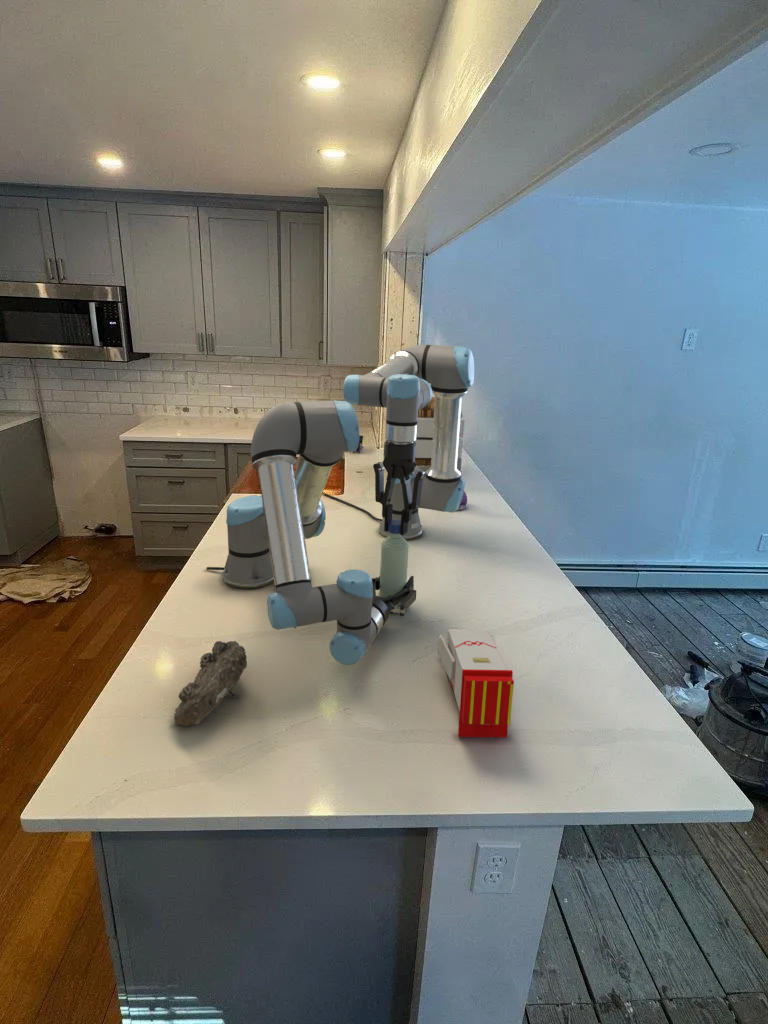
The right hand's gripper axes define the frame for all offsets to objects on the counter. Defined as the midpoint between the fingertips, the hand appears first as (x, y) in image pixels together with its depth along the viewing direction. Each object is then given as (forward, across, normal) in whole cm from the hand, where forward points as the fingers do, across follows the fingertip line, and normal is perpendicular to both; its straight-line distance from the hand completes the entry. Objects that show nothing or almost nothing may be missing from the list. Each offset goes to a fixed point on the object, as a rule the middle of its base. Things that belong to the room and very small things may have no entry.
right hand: (395, 531), depth 144 cm
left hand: (+15, +1, -5) cm, 16 cm away
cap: (-2, 0, 0) cm, 2 cm away
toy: (+22, -30, +24) cm, 44 cm away
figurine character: (+21, +94, -144) cm, 173 cm away
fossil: (+22, +14, +51) cm, 57 cm away
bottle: (+22, 0, 0) cm, 22 cm away
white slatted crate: (+22, +47, -124) cm, 134 cm away
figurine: (+22, +14, -86) cm, 90 cm away
